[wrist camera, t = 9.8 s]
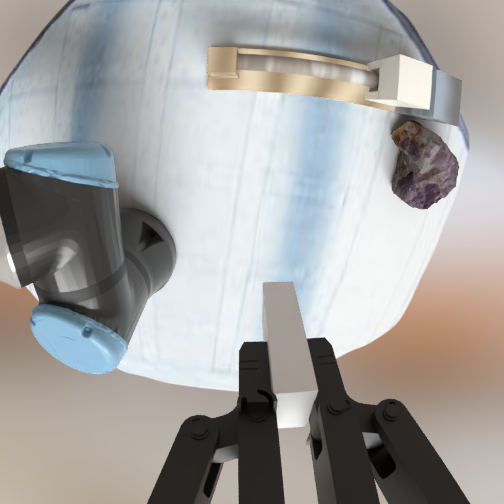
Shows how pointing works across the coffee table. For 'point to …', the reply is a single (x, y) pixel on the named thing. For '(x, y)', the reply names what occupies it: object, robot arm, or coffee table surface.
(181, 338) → the coffee table surface
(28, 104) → the coffee table surface
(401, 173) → the rock
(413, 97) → the sleeve
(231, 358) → the coffee table surface
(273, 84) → the rail
